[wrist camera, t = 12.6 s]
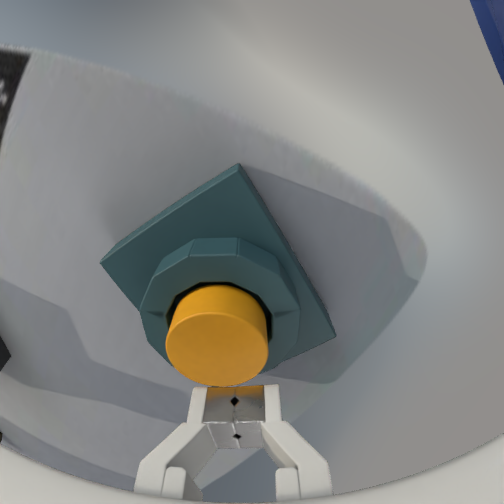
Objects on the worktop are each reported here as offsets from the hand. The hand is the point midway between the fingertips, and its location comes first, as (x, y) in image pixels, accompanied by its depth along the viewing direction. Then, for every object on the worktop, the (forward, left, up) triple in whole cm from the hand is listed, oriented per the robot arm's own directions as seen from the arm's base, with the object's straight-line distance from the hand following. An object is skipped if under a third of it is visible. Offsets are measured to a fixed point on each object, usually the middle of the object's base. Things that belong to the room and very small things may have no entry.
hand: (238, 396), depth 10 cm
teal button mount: (+1, -1, -7) cm, 7 cm away
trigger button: (+1, -1, -4) cm, 4 cm away
